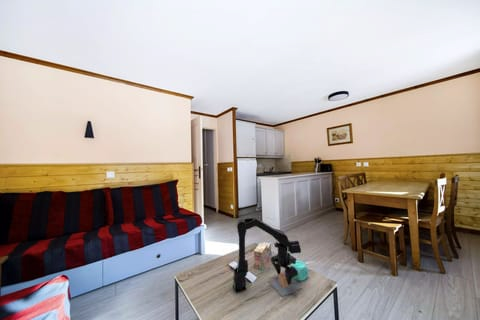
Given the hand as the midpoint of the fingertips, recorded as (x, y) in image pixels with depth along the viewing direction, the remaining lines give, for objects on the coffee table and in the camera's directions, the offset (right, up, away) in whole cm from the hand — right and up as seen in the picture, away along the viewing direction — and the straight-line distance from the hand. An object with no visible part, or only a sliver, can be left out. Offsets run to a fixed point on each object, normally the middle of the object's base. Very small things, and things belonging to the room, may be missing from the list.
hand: (284, 279), depth 104 cm
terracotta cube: (0, -2, 0) cm, 2 cm away
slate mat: (0, -3, 0) cm, 3 cm away
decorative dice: (+11, -3, +7) cm, 14 cm away
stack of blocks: (-9, -4, +27) cm, 28 cm away
